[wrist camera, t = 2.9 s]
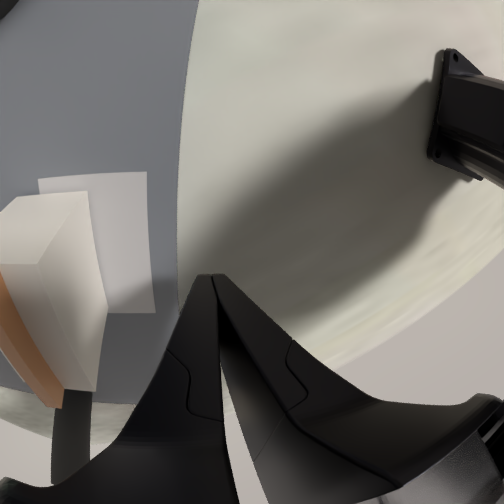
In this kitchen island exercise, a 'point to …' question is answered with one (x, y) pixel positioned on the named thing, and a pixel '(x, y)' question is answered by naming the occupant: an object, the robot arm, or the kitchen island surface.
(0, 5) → the cord post
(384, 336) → the kitchen island surface
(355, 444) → the robot arm
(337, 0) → the kitchen island surface
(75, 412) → the cord post
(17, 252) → the orange striped block
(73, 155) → the panel
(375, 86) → the kitchen island surface
